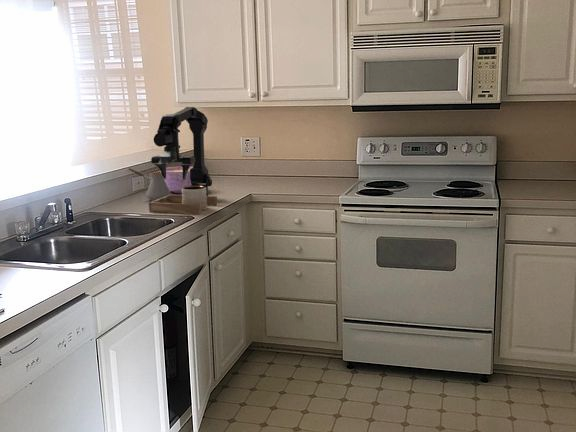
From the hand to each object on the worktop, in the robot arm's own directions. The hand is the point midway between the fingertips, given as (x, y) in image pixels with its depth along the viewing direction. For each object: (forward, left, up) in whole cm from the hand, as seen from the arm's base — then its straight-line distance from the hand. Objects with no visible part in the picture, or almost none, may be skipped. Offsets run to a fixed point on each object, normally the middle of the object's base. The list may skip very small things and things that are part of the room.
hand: (174, 179), depth 278 cm
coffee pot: (-17, -23, -13) cm, 32 cm away
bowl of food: (-41, -18, -13) cm, 47 cm away
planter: (-1, +8, -14) cm, 16 cm away
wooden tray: (-1, +3, -13) cm, 14 cm away
